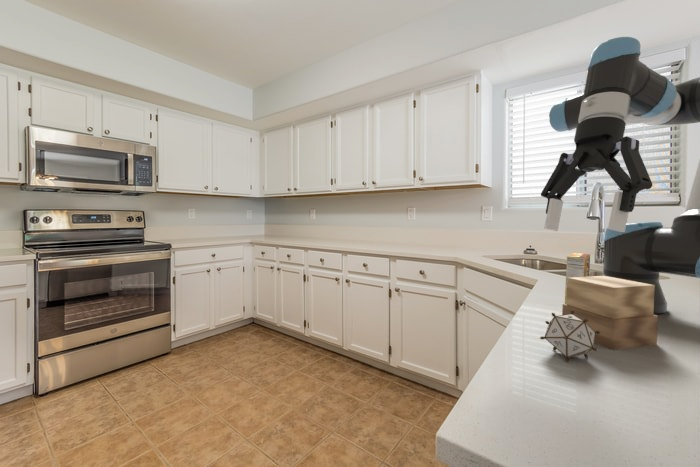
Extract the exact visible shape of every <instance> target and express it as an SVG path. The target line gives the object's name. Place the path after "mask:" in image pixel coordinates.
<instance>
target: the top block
mask: <svg viewBox="0 0 700 467" xmlns="http://www.w3.org/2000/svg"><path fill="white" fill-rule="evenodd" d="M654 290H655V285H651V284H646V283H641V282H635V281H630V280H625V279H619V278H614V277H609V276H603V275H591V276H590V275H589V277H572V278H567V305H570V306H573V307H576V308H580V309H583V310H586V311H589V312H592V313H596V314H599V315H602V316H605V317H608V318H611V319H616V318H627V317H638V316H649V315H654V314H653V310H654Z"/></svg>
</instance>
